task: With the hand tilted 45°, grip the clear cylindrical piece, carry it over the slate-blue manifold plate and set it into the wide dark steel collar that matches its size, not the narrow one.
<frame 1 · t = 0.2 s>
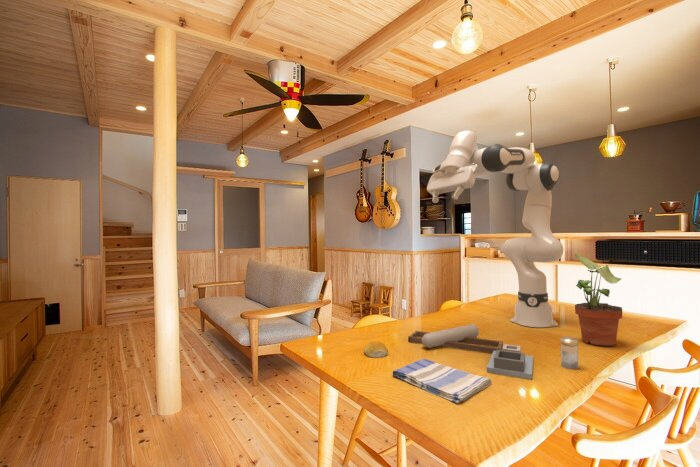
hand: (444, 200, 123), 54 cm above the table, tool tilted 30°, fingers open, 8 cm apart
clear cylindrical piece: (569, 366, 105), on the table
potted plant: (600, 343, 125), on the table
tube tray: (454, 344, 129), on the table
dish towel: (440, 382, 98), on the table
bread roll: (376, 354, 122), on the table
manifold plate: (510, 366, 107), on the table
tube: (450, 342, 129), resting on tube tray
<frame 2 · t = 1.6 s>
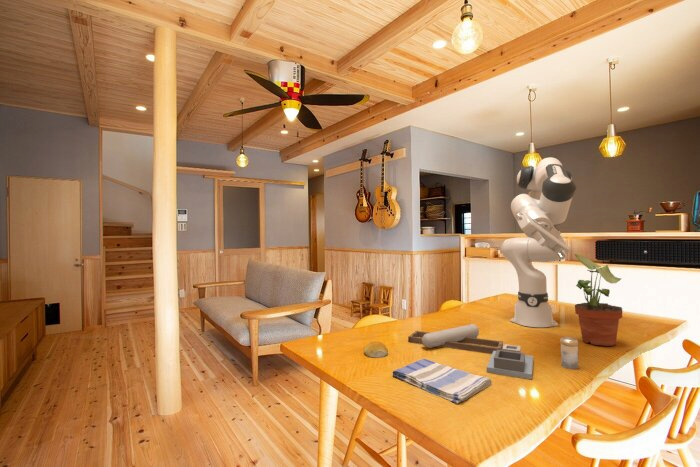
hand: (553, 250, 107), 36 cm above the table, tool tilted 55°, fingers open, 8 cm apart
nothing on the table moved.
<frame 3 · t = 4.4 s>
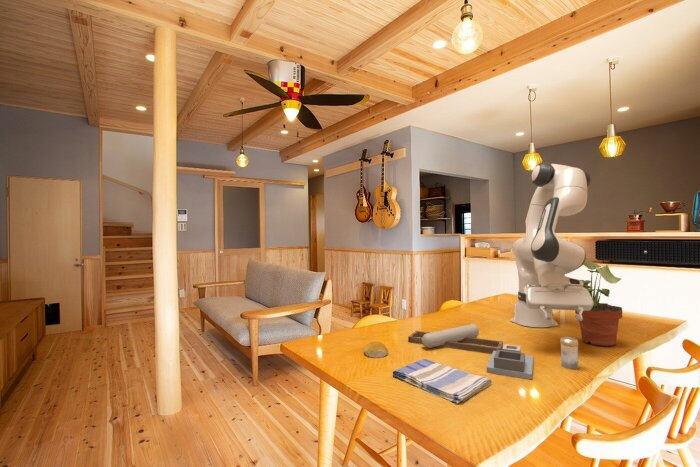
hand: (563, 319, 114), 12 cm above the table, tool tilted 45°, fingers open, 8 cm apart
nothing on the table moved.
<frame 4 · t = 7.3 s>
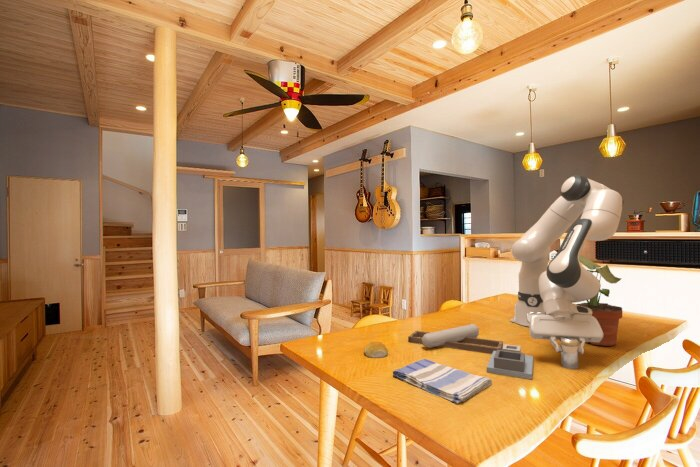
hand: (570, 352, 105), 5 cm above the table, tool tilted 45°, fingers closed on clear cylindrical piece, 4 cm apart
clear cylindrical piece: (569, 366, 105), on the table, touching gripper
everything else where it was.
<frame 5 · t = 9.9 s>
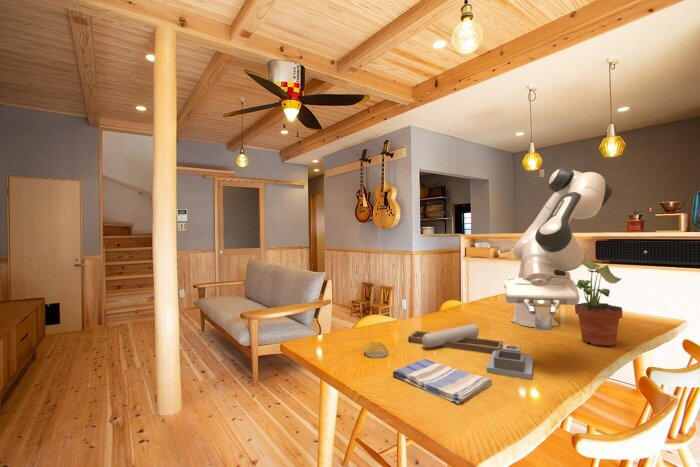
hand: (542, 313, 102), 17 cm above the table, tool tilted 50°, fingers closed on clear cylindrical piece, 4 cm apart
clear cylindrical piece: (543, 328, 103), point 13 cm above the table, touching gripper
everything else where it was.
when the fingers open (7 cm above the table, at t = 12.9 s): clear cylindrical piece stays where it is, resting on manifold plate.
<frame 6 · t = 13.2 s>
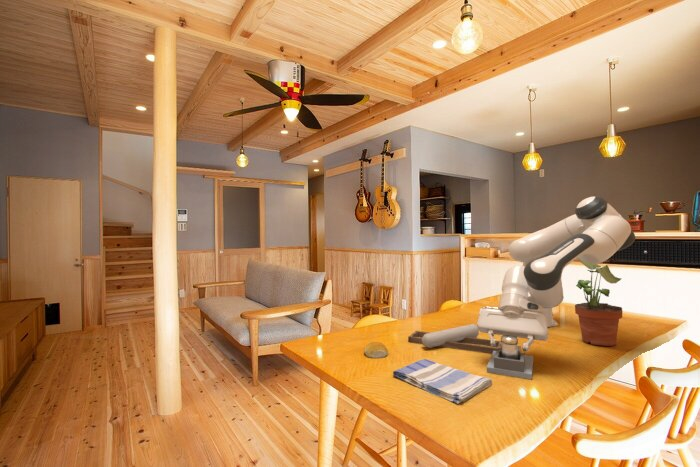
hand: (508, 347, 103), 7 cm above the table, tool tilted 45°, fingers open, 8 cm apart
clear cylindrical piece: (510, 365, 104), point 2 cm above the table, touching manifold plate
everything else where it was.
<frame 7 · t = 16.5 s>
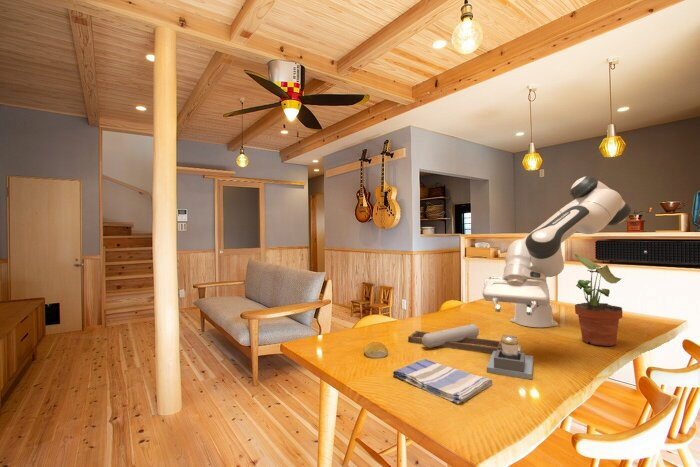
hand: (513, 312, 110), 16 cm above the table, tool tilted 45°, fingers open, 8 cm apart
nothing on the table moved.
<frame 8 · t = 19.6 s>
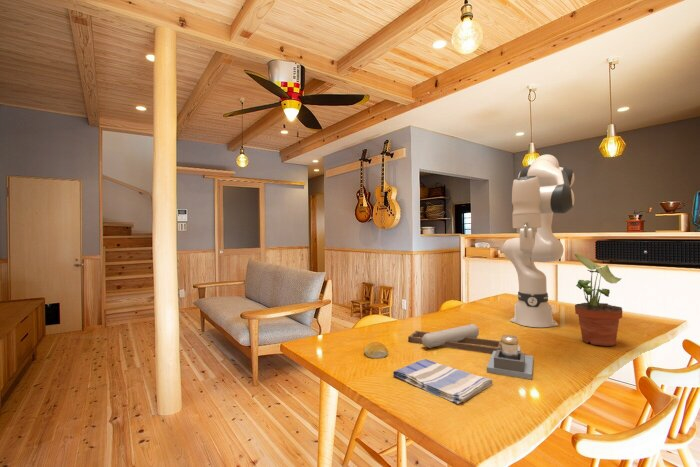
hand: (527, 263, 117), 31 cm above the table, tool pointing down, fingers open, 8 cm apart
nothing on the table moved.
at the end: clear cylindrical piece 0.2 cm from the target spot on the manifold plate, point 1.5 cm above the manifold plate's base; clear cylindrical piece tilted 0°; the gripper is holding nothing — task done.
